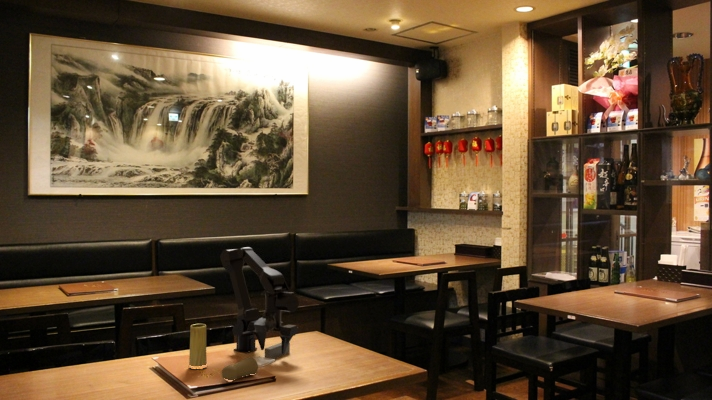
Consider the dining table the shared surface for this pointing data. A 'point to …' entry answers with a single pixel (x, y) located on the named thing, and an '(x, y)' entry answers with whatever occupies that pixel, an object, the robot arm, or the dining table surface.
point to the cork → (240, 369)
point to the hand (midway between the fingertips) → (272, 351)
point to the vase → (198, 345)
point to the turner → (271, 354)
